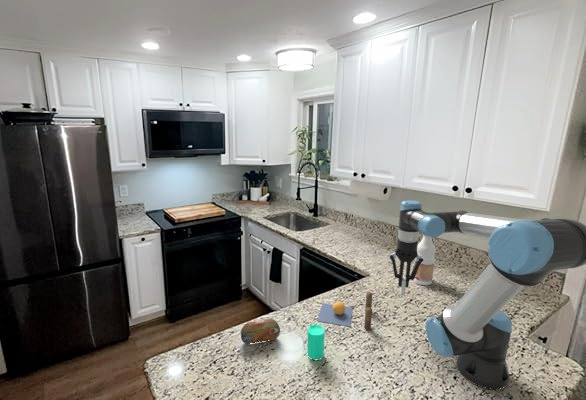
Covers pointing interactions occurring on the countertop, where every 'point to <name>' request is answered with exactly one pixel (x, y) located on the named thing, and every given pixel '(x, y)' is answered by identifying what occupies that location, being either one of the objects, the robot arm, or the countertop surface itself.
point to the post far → (368, 300)
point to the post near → (368, 318)
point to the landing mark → (334, 315)
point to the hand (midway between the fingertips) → (402, 293)
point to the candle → (315, 341)
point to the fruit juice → (425, 261)
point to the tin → (260, 331)
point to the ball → (339, 308)
